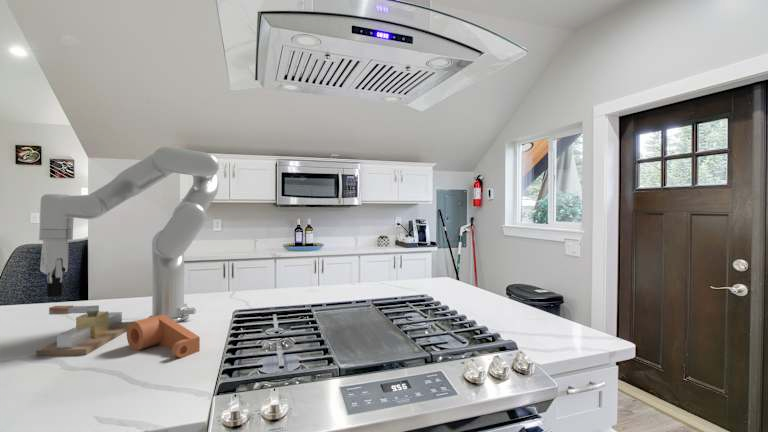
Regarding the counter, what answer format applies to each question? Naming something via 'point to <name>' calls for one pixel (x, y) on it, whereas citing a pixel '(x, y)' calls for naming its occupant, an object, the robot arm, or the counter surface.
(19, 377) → the counter surface
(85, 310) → the lever
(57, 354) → the walnut board
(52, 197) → the robot arm
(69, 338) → the valve body
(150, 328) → the crank
